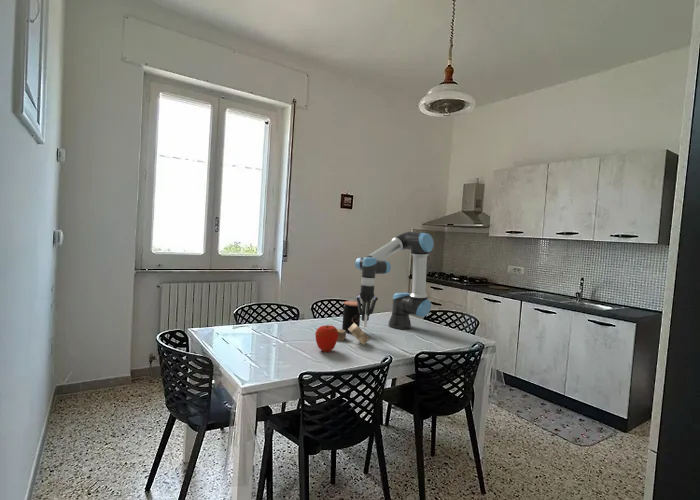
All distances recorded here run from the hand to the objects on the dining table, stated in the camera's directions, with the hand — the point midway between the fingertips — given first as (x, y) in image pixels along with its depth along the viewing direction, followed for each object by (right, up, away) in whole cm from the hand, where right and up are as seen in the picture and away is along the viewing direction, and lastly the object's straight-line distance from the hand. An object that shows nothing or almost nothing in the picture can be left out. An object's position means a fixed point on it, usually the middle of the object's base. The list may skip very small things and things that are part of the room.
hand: (364, 326), depth 222 cm
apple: (-21, -10, -16) cm, 28 cm away
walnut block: (-11, -7, +5) cm, 14 cm away
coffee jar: (-8, -8, +25) cm, 27 cm away
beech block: (0, -8, +1) cm, 8 cm away
